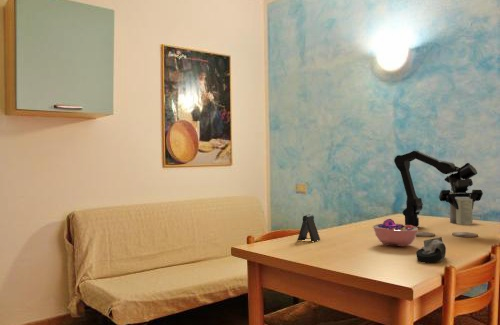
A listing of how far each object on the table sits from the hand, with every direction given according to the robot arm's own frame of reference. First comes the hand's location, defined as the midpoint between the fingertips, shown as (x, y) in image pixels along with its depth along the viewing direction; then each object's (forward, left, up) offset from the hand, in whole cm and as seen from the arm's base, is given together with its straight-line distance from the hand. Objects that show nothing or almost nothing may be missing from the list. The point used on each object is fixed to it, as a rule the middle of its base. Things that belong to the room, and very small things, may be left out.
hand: (465, 209), depth 204 cm
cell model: (-25, -35, -13) cm, 45 cm away
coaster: (-18, -5, -13) cm, 23 cm away
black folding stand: (-64, -38, -13) cm, 76 cm away
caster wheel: (-8, -56, -13) cm, 58 cm away
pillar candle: (-5, +42, -13) cm, 45 cm away
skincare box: (-1, +1, -8) cm, 8 cm away
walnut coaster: (0, +1, -13) cm, 13 cm away
